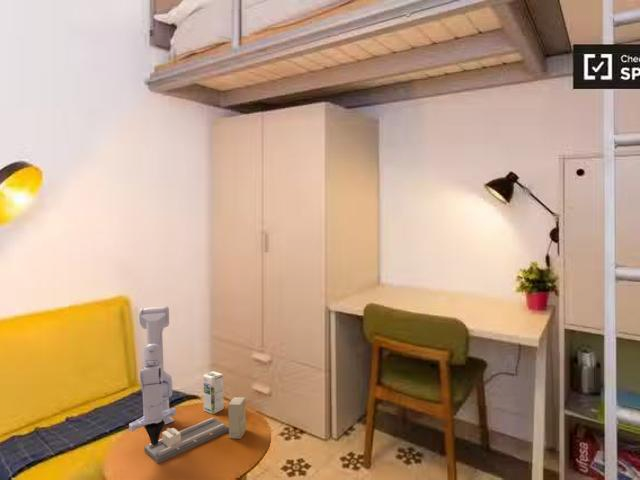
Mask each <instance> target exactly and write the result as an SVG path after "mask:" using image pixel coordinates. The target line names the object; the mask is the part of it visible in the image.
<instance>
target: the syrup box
mask: <svg viewBox="0 0 640 480" xmlns="http://www.w3.org/2000/svg"><path fill="white" fill-rule="evenodd" d="M202 383H203V384H202V387H203V389H202V390H203V412H207V413H209V414H212V415H215V414H217V413H218V412H220V411H223V410H224V406H225V405H224V402H225V401H224V374H223V373H220V372H217V371H214V370H213V371H209V372H207V373H205V374H203V376H202Z"/></svg>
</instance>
